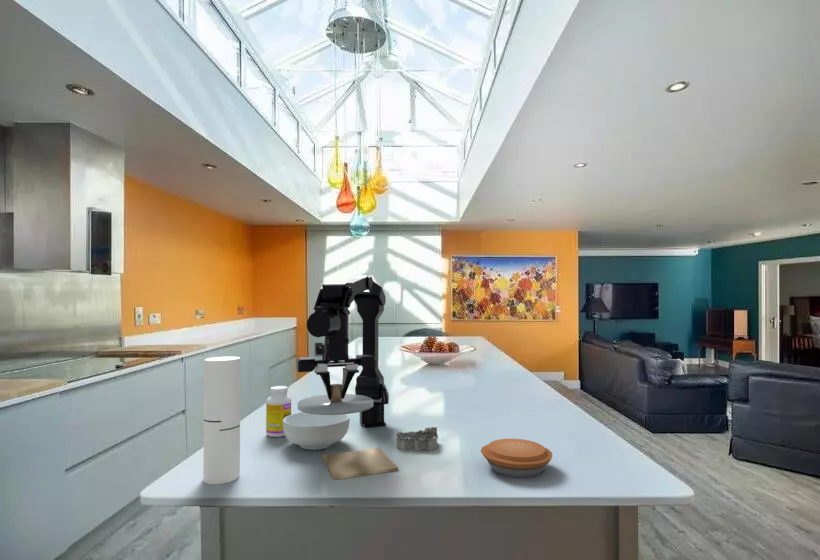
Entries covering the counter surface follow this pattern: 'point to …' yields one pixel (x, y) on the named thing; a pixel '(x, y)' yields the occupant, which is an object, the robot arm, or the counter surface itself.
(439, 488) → the counter surface
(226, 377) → the cylindrical container
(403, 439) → the egg carton
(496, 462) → the pie
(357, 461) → the plate
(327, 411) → the lid
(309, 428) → the cereal bowl
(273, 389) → the supplement bottle
